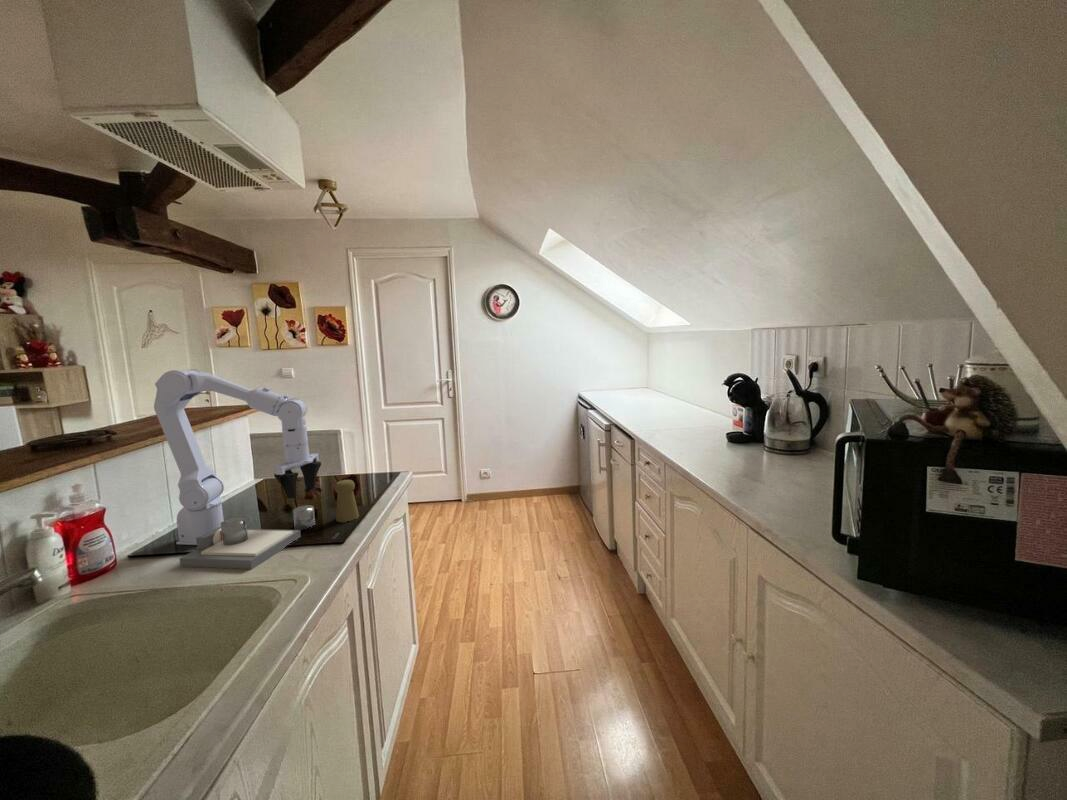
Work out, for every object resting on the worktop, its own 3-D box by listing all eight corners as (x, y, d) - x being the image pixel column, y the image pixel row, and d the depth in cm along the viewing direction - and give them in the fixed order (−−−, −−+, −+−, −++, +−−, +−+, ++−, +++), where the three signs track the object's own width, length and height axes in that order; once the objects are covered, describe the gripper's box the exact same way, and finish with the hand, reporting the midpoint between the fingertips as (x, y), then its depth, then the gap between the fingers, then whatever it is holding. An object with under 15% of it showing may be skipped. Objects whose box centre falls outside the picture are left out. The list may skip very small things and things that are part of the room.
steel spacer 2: (290, 529, 114) (289, 512, 114) (301, 522, 119) (299, 505, 119) (308, 529, 114) (307, 512, 113) (318, 522, 119) (317, 505, 118)
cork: (363, 514, 124) (359, 477, 123) (352, 522, 118) (348, 484, 117) (343, 514, 125) (340, 477, 123) (331, 522, 119) (328, 484, 117)
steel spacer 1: (217, 544, 101) (215, 524, 100) (236, 535, 105) (233, 516, 105) (235, 545, 100) (232, 525, 99) (253, 536, 104) (250, 517, 104)
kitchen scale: (180, 566, 96) (177, 543, 95) (238, 535, 112) (236, 515, 111) (251, 569, 93) (248, 545, 93) (301, 537, 109) (298, 516, 109)
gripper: (290, 450, 106) (296, 502, 108) (326, 438, 120) (331, 484, 122) (265, 450, 107) (271, 502, 109) (303, 438, 122) (308, 484, 123)
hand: (301, 493), depth 115 cm, fingers open, 7 cm apart
